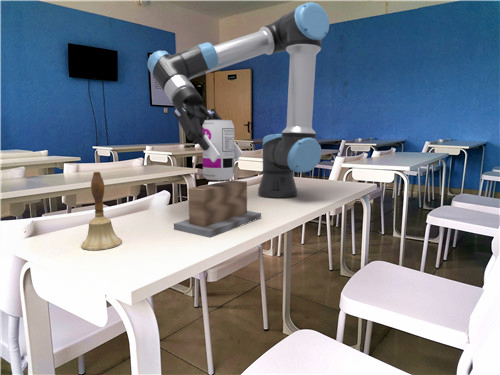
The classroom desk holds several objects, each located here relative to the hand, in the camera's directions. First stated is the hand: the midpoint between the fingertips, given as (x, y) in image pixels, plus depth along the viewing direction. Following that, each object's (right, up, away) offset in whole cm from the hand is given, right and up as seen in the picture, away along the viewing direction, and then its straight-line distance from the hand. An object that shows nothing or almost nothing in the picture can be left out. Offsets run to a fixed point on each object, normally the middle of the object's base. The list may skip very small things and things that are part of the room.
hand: (228, 157), depth 89 cm
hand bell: (-27, -20, -12) cm, 36 cm away
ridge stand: (-3, -17, +5) cm, 18 cm away
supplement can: (-3, -5, +3) cm, 7 cm away
